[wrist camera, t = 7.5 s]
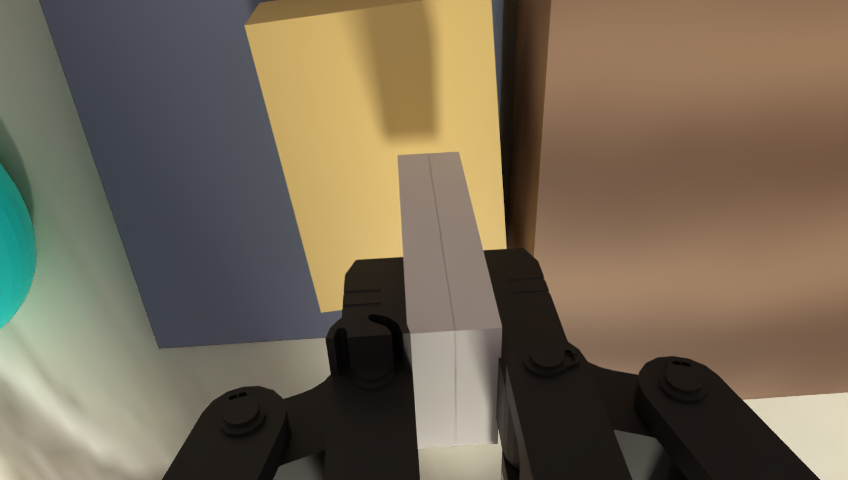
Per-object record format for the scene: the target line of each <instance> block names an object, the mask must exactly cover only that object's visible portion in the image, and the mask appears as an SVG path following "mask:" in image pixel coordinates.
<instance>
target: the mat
mask: <svg viewBox="0 0 848 480" xmlns="http://www.w3.org/2000/svg"><path fill="white" fill-rule="evenodd" d="M39 1H40V4H41V7H42V10H43V12H44V15H45V18H46V21H47V24H48V27H49V30H50V33H51V36H52V39H53V42H54V45H55V47H56V50H57V53H58V56H59V59H60V62H61V65H62V68H63V71H64V74H65V77H66V79H67V82H68V85H69V88H70V91H71V94H72V97H73V100H74V103H75V106H76V109H77V112H78V114H79V117H80V120H81V123H82V126H83V129H84V132H85V135H86V138H87V141H88V144H89V146H90V149H91V152H92V155H93V158H94V161H95V164H96V167H97V170H98V173H99V176H100V179H101V181H102V184H103V187H104V190H105V193H106V196H107V199H108V202H109V205H110V208H111V211H112V213H113V216H114V219H115V222H116V225H117V228H118V231H119V234H120V237H121V240H122V243H123V245H124V248H125V251H126V254H127V257H128V260H129V263H130V266H131V269H132V272H133V275H134V278H135V280H136V283H137V286H138V289H139V292H140V295H141V298H142V301H143V304H144V307H145V310H146V312H147V315H148V318H149V321H150V324H151V327H152V330H153V333H154V336H155V339H156V342H157V345H158V347H159V349H161V348H176V347H191V346H206V345H221V344H236V343H252V342H267V341H282V340H297V339H312V338H326V336H327V334H328V331H329V329H330V327H331V326H332V325H333V324H335V323H336V322H337V321H338V320H339V319H340V318H342V310H337V311H330V312H322V313H321V310H320V307H319V303H318V299H317V295H316V292H315V288H314V284H313V280H312V277H311V273H310V269H309V265H308V262H307V258H306V254H305V250H304V247H303V243H302V239H301V236H300V232H299V228H298V224H297V221H296V217H295V213H294V209H293V206H292V202H291V198H290V194H289V191H288V187H287V183H286V179H285V176H284V172H283V168H282V164H281V161H280V157H279V153H278V149H277V146H276V142H275V138H274V134H273V131H272V127H271V123H270V119H269V116H268V112H267V108H266V105H265V101H264V97H263V93H262V90H261V86H260V82H259V78H258V75H257V71H256V67H255V63H254V60H253V56H252V52H251V48H250V45H249V41H248V37H247V33H246V30H245V26H244V25H245V24H246V22H247V21H248V19H249V18H250V16H251V15H252V13H253V12H254V10H255V9H256V7H257V6H258V5H259V3H261V2H268V1H275V0H39ZM491 2H492V18H493V35H494V51H495V67H496V84H497V100H498V116H499V130H500V96H501V63H502V30H503V0H491Z"/></svg>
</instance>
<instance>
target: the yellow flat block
mask: <svg viewBox="0 0 848 480" xmlns="http://www.w3.org/2000/svg"><path fill="white" fill-rule="evenodd" d="M244 26H245V30H246V33H247V37H248V41H249V45H250V48H251V52H252V56H253V60H254V63H255V67H256V71H257V75H258V78H259V82H260V86H261V90H262V93H263V97H264V101H265V105H266V108H267V112H268V116H269V119H270V123H271V127H272V131H273V134H274V138H275V142H276V146H277V149H278V153H279V157H280V161H281V164H282V168H283V172H284V176H285V179H286V183H287V187H288V191H289V194H290V198H291V202H292V206H293V209H294V213H295V217H296V221H297V224H298V228H299V232H300V236H301V239H302V243H303V247H304V250H305V254H306V258H307V262H308V265H309V269H310V273H311V277H312V280H313V284H314V288H315V292H316V295H317V299H318V303H319V307H320V310H321V313H322V312H330V311H337V310H342V308H343V295H344V280H345V274H346V273H347V271H348V270H349V269H350V267H351V266H352V264H353V263H354V262H355V260H361V259H377V258H393V257H403V245H402V227H401V210H400V192H399V174H398V157H397V155H408V154H425V153H443V152H459V154H460V158H461V162H462V166H463V170H464V174H465V178H466V183H467V187H468V191H469V195H470V199H471V203H472V207H473V211H474V215H475V219H476V223H477V227H478V231H479V235H480V239H481V243H482V247H483V250H496V249H507V247H506V231H505V214H504V198H503V182H502V165H501V149H500V133H499V116H498V100H497V84H496V67H495V51H494V35H493V18H492V2H491V0H275V1H268V2H261V3H259V5H258V6H257V7H256V9H255V10H254V12H253V13H252V15H251V16H250V18H249V19H248V21H247V22H246V24H245V25H244Z"/></svg>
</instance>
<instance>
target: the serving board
mask: <svg viewBox="0 0 848 480" xmlns="http://www.w3.org/2000/svg"><path fill="white" fill-rule="evenodd" d="M513 248H524V249H525V250H526V251H528V252H529V253H530V254H531V255H532V256H533V257H534V258H535V259H536V260H538V262H539V264H540V267H541V270H542V272H543V275H544V280H545V281H546V283H547V286H548V289H549V293H550V294H551V297H552V300H553V302H554V305H555V308H556V311H557V313H558V316H559V319H560V321H561V324H562V327H563V330H564V332H565V335H566V338H567V340H568V342H569V343H571V344H572V345H574V346H575V347H577V348H578V349H579V350H580V351H581V353H582V354H583V356H584V357H585V358H586V360H587V361H588V362H590V363H592V364H594V365H597V366H599V367H602V368H606V369H610V370H614V371H620V372H626V373H632V374H637V375H639V371H640V370H641V369H642V367H643V366H644V365H645V363H647V362H649V361H651V360H653V359H655V358H657V357H667V356H676V357H682V358H688V359H691V360H694V361H696V362H699V363H701V364H703V365H706V366H707V367H708V368H710V369H711V370H712V371H713V372H715V373H716V374H717V375H719V376H720V377H721V378H722V379H723V380H724V382H725V383H726V384H727V385H728V386H729V387H730V388H731V389H732V390H733V391H734V392H735V393H736V394H737V395H738V396H739V397H740V398H741V399H742V400H745V399H759V398H773V397H787V396H802V395H816V394H830V393H844V392H848V0H518V7H517V31H516V55H515V79H514V103H513V127H512V151H511V175H510V199H509V223H508V247H507V249H513Z"/></svg>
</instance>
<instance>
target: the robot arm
mask: <svg viewBox="0 0 848 480" xmlns="http://www.w3.org/2000/svg"><path fill="white" fill-rule="evenodd" d="M397 157H398V174H399V192H400V210H401V227H402V245H403V257H393V258H377V259H361V260H355V262H354V263H353V264H352V266H351V267H350V269H349V270H348V271H347V273H346V274H345V280H344V295H343V308H342V318H340V319H339V320H338V321H337V322H336V323H335V324H333V325H332V326H331V327H330V329H329V331H328V334H327V336H326V345H327V351H328V358H329V364H330V371H331V375H330V376H329V377H328V378H327V379H326V380H325V381H324V382H322V383H321V384H319V385H318V386H316V387H315V388H313V389H311V390H308V391H306V392H304V393H301V394H298V395H295V396H292V397H289V398H285V399H283V398H282V397H281V396H279V395H278V394H277V393H276V392H275V391H274V390H271V389H267V388H264V387H260V386H252V387H241V388H238V389H235V390H232V391H229V392H226V393H225V394H223V395H222V396H220V397H218V398H217V399H215V400H214V401H212V403H211V404H210V405H209V406H208V407H207V408H206V409H205V411H204V412H203V413H202V414H201V416H200V418H199V419H198V421H197V423H196V424H195V426H194V428H193V429H192V431H191V433H190V434H189V436H188V438H187V439H186V441H185V443H184V444H183V446H182V447H181V449H180V451H179V452H178V454H177V456H176V457H175V459H174V461H173V462H172V464H171V466H170V467H169V469H168V471H167V472H166V474H165V476H164V477H163V479H162V480H420V474H419V459H418V449H427V448H441V447H455V446H469V445H484V444H498V429H499V434H500V440H501V445H502V469H501V480H820V479H819V478H818V477H817V476H816V475H815V474H814V473H813V472H812V471H811V470H810V469H809V468H808V467H807V466H806V465H805V464H804V463H803V462H802V461H801V460H800V459H799V458H798V456H797V455H796V454H795V453H794V452H793V451H792V450H791V449H790V448H789V447H788V446H787V445H786V444H785V443H784V442H783V441H782V440H781V439H780V438H779V437H778V436H777V435H776V434H775V433H774V432H773V431H772V430H771V429H770V428H769V427H768V426H767V425H766V424H765V423H764V422H763V421H762V420H761V418H760V417H759V416H758V415H757V414H756V413H755V412H754V411H753V410H752V409H751V408H750V407H749V406H748V405H747V404H746V403H745V402H744V401H743V400H742V399H741V398H740V397H739V396H738V395H737V394H736V393H735V392H734V391H733V390H732V389H731V388H730V387H729V386H728V385H727V384H726V383H725V382H724V380H723V379H722V378H721V377H720V376H719V375H717V374H716V373H715V372H713V371H712V370H711V369H710V368H708V367H707V366H706V365H703V364H701V363H699V362H696V361H694V360H691V359H688V358H682V357H676V356H667V357H657V358H655V359H653V360H651V361H649V362H647V363H645V365H644V366H643V367H642V369H641V370H640V371H639V375H637V374H632V373H626V372H620V371H614V370H610V369H606V368H602V367H599V366H597V365H594V364H592V363H590V362H588V361H587V360H586V358H585V357H584V356H583V354H582V353H581V351H580V350H579V349H578V348H577V347H575V346H574V345H572V344H571V343H569V342H568V340H567V338H566V335H565V332H564V330H563V327H562V324H561V321H560V319H559V316H558V313H557V311H556V308H555V305H554V302H553V300H552V297H551V294H550V293H549V289H548V286H547V283H546V281H545V280H544V275H543V272H542V270H541V267H540V264H539V262H538V260H536V259H535V258H534V257H533V256H532V255H531V254H530V253H529V252H528V251H526V250H525V249H524V248H513V249H496V250H483V247H482V243H481V239H480V235H479V231H478V227H477V223H476V219H475V215H474V211H473V207H472V203H471V199H470V195H469V191H468V187H467V183H466V178H465V174H464V170H463V166H462V162H461V158H460V154H459V152H443V153H425V154H408V155H397Z"/></svg>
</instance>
